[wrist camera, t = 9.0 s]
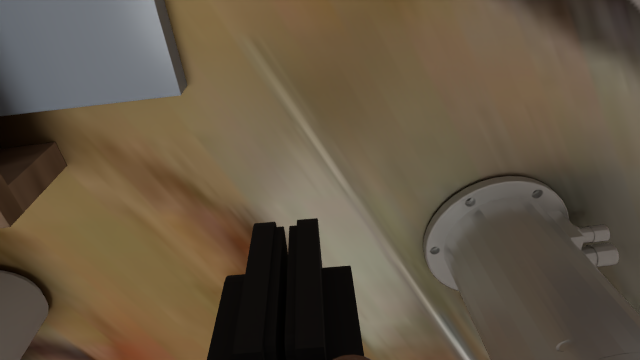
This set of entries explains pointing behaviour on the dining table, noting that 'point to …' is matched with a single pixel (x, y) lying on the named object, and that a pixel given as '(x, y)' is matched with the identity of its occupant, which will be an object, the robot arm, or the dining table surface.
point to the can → (19, 314)
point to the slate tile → (85, 54)
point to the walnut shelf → (26, 177)
